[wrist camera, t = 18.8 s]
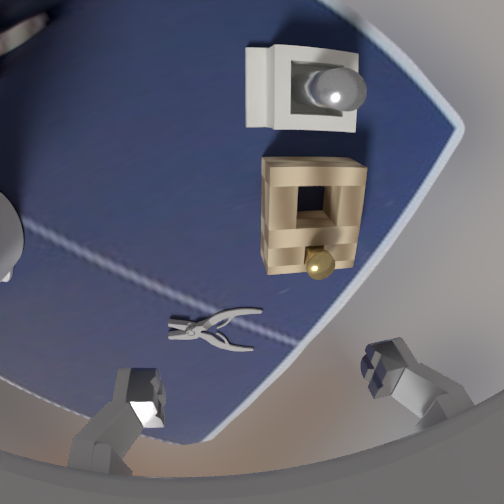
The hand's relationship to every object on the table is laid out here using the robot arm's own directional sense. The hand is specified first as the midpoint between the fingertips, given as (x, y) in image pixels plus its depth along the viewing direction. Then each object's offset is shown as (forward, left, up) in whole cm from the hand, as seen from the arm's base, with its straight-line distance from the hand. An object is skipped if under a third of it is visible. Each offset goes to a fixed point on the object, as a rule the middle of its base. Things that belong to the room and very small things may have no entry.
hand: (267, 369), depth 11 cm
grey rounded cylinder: (+10, +10, -30) cm, 33 cm away
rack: (+10, +10, -31) cm, 34 cm away
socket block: (+11, -6, -31) cm, 33 cm away
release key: (+11, -10, -31) cm, 34 cm away
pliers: (-3, -27, -32) cm, 42 cm away
